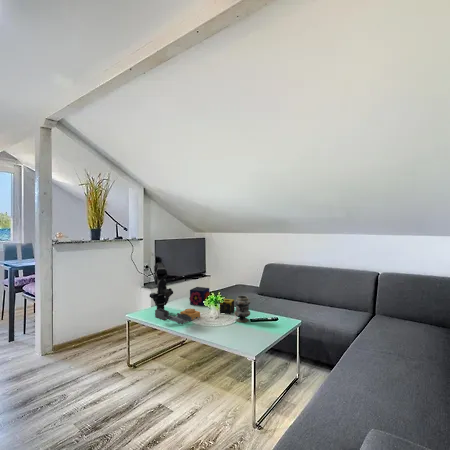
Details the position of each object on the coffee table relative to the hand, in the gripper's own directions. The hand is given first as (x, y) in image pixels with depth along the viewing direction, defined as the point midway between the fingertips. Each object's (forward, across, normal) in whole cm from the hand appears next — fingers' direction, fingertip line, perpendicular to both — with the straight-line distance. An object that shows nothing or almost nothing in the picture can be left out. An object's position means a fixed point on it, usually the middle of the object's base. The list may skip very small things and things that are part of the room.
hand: (161, 304), depth 235 cm
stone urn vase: (+10, +36, -52) cm, 64 cm away
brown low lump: (+10, +16, -15) cm, 24 cm away
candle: (+11, +44, -29) cm, 54 cm away
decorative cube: (+11, +48, +8) cm, 50 cm away
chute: (+10, 0, 0) cm, 11 cm away
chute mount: (+10, +6, -15) cm, 19 cm away
